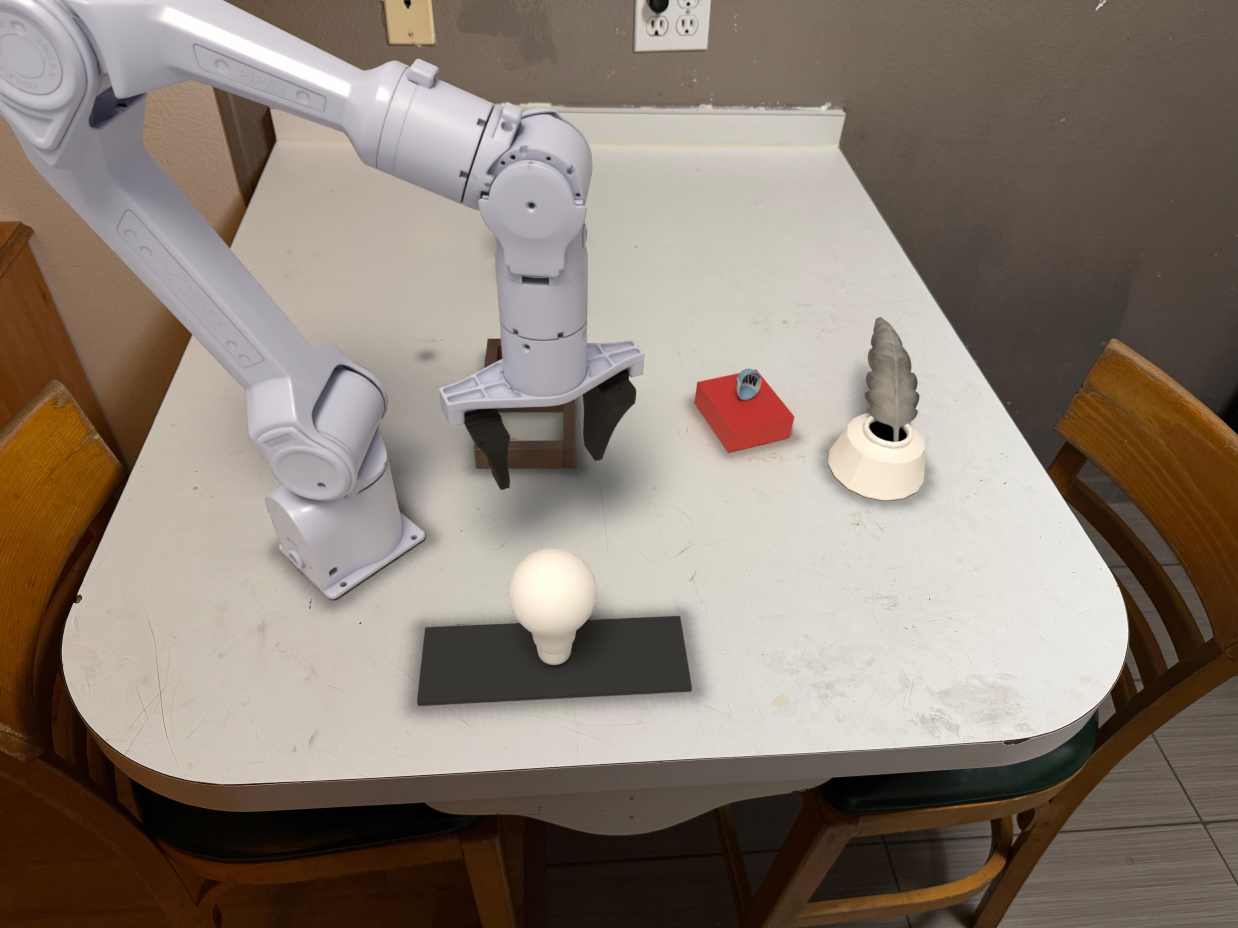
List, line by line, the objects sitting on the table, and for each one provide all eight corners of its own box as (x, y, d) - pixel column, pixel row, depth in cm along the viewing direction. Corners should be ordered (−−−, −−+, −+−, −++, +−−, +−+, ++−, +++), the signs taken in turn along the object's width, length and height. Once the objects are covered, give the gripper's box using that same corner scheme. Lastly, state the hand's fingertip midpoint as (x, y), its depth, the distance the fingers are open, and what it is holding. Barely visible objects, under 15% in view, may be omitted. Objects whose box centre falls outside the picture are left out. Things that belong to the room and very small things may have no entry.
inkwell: (834, 499, 75) (860, 417, 69) (809, 380, 88) (828, 301, 82) (934, 504, 75) (970, 423, 69) (894, 384, 88) (920, 306, 82)
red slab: (694, 403, 85) (700, 353, 81) (752, 390, 87) (761, 341, 82) (728, 452, 80) (737, 402, 75) (789, 438, 81) (801, 388, 77)
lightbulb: (506, 633, 63) (496, 540, 55) (581, 614, 64) (582, 521, 57) (524, 701, 59) (517, 610, 51) (605, 679, 60) (609, 588, 53)
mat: (417, 705, 59) (416, 702, 58) (425, 630, 63) (424, 626, 63) (691, 691, 60) (691, 687, 60) (679, 619, 65) (680, 615, 65)
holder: (476, 468, 77) (473, 449, 75) (489, 357, 89) (487, 338, 88) (576, 468, 77) (576, 448, 76) (574, 357, 90) (574, 338, 88)
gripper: (616, 264, 58) (610, 410, 67) (416, 308, 53) (440, 459, 62) (663, 315, 53) (650, 464, 63) (449, 368, 49) (470, 521, 58)
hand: (548, 466), depth 62 cm, fingers open, 7 cm apart
